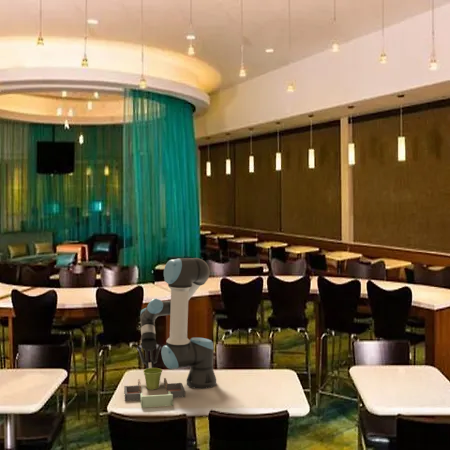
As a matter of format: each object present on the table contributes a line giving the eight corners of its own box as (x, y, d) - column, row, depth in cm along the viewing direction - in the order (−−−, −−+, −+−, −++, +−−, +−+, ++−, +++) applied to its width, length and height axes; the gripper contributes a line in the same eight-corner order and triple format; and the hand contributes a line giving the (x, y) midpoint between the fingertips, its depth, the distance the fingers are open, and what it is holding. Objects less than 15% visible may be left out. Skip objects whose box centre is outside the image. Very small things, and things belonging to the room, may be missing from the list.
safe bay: (140, 399, 262) (140, 388, 261) (170, 397, 264) (170, 386, 264) (141, 407, 251) (141, 396, 251) (172, 405, 254) (172, 394, 253)
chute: (137, 385, 281) (137, 379, 281) (165, 383, 284) (165, 378, 284) (138, 392, 271) (139, 385, 271) (167, 390, 274) (167, 384, 274)
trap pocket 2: (166, 389, 275) (166, 383, 275) (181, 388, 277) (181, 382, 276) (169, 398, 263) (169, 391, 263) (185, 397, 265) (185, 390, 265)
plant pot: (158, 391, 272) (158, 374, 272) (140, 390, 274) (140, 372, 274) (164, 385, 281) (164, 368, 281) (146, 384, 283) (146, 367, 283)
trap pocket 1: (124, 392, 271) (124, 386, 271) (139, 391, 272) (139, 385, 272) (124, 400, 259) (125, 394, 259) (141, 399, 261) (141, 393, 261)
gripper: (160, 338, 304) (162, 378, 288) (135, 339, 301) (137, 379, 285) (161, 330, 298) (163, 371, 282) (136, 331, 295) (137, 372, 280)
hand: (150, 375), depth 284 cm, fingers closed
